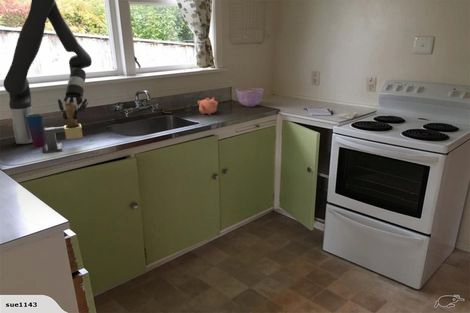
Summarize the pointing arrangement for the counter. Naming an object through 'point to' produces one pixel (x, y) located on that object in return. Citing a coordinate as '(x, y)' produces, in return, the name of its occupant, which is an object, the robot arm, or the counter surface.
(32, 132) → the cup
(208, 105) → the orange lumpy ball
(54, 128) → the cup bracket
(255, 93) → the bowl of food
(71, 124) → the rail post
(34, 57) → the robot arm
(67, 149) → the counter surface
